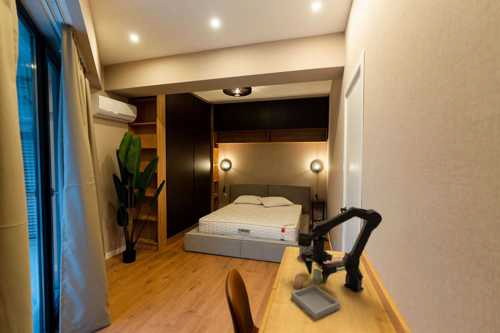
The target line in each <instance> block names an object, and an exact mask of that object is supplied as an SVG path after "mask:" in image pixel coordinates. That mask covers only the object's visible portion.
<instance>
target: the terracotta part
mask: <svg viewBox="0 0 500 333" xmlns="http://www.w3.org/2000/svg"><path fill="white" fill-rule="evenodd" d="M304 279H305V278H304V275H302V274H298V273H297V274H295V275H294V288H295V289H296V290H300V289H303V288H304V283H305V282H304V281H305V280H304Z"/></svg>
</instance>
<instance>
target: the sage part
mask: <svg viewBox="0 0 500 333" xmlns="http://www.w3.org/2000/svg"><path fill="white" fill-rule="evenodd" d="M312 282H314V283H317V284H320V283H321V282H322V269H321V270H320V269H319V268H314V269H312Z"/></svg>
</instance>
